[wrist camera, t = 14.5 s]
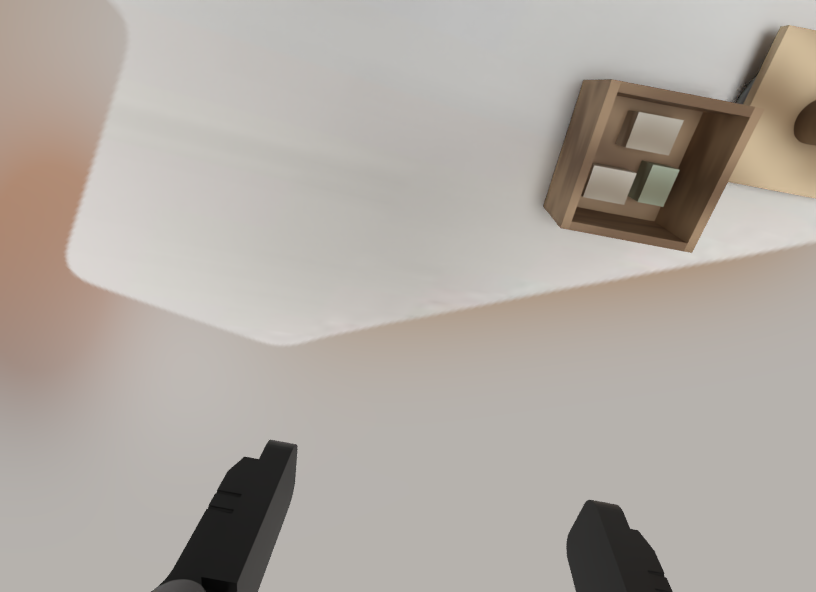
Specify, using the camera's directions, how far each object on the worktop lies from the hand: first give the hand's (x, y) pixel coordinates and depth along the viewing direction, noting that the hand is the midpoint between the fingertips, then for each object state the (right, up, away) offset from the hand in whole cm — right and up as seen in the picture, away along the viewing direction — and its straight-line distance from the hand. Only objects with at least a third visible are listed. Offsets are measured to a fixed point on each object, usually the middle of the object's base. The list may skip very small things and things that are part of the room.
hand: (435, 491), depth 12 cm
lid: (+28, +18, +19) cm, 38 cm away
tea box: (+16, +16, +22) cm, 32 cm away
